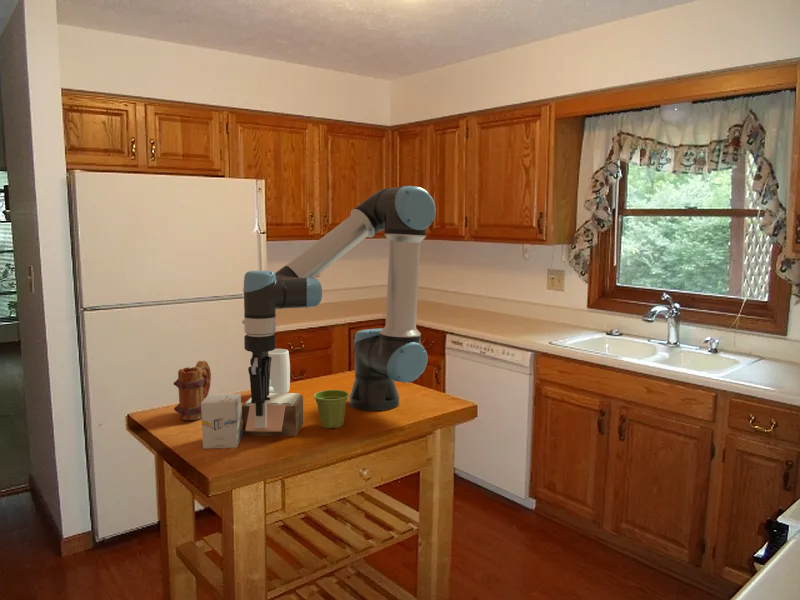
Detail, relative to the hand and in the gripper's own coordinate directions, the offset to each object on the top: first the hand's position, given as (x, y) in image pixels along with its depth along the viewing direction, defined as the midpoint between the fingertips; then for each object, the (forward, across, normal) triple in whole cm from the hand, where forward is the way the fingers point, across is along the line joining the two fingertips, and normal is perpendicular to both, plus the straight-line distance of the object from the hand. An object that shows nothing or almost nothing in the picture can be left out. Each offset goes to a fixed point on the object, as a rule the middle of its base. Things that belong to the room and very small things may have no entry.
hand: (260, 427), depth 154 cm
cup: (+4, -44, -6) cm, 44 cm away
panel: (-1, -3, +1) cm, 3 cm away
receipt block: (+4, -11, +1) cm, 11 cm away
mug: (+5, -22, -24) cm, 33 cm away
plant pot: (+4, -15, +16) cm, 22 cm away
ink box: (+5, -1, -10) cm, 11 cm away
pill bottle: (+4, -25, -5) cm, 26 cm away
